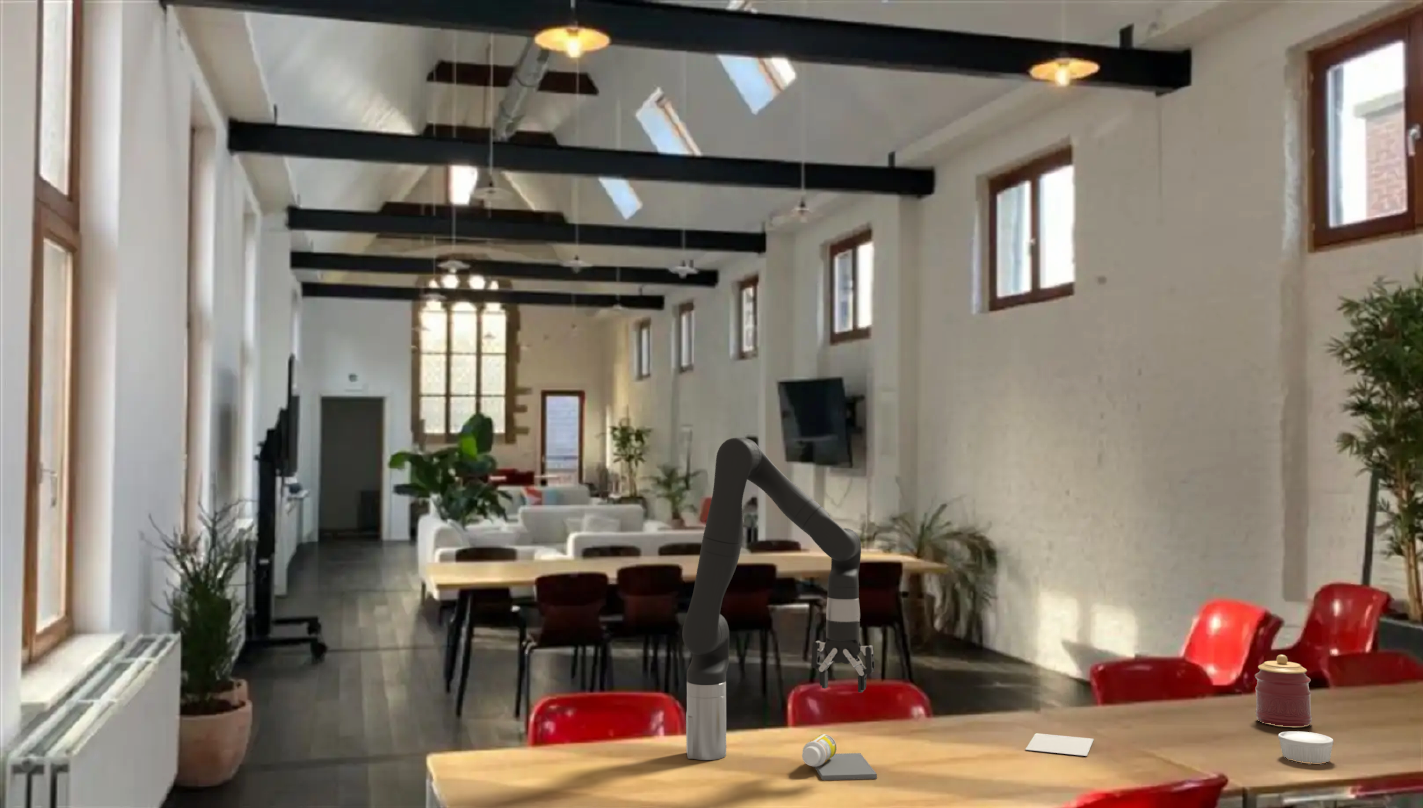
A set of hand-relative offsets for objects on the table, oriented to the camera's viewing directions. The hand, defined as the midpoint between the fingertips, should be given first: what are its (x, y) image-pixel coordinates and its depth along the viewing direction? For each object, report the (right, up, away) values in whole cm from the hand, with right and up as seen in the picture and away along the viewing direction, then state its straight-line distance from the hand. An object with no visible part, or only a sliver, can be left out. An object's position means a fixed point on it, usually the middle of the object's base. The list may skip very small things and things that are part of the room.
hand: (842, 689), depth 251 cm
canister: (+119, -19, +39) cm, 127 cm away
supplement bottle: (-3, -14, +4) cm, 15 cm away
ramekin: (+107, -17, +4) cm, 109 cm away
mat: (0, -17, -1) cm, 17 cm away
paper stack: (+57, -18, +12) cm, 61 cm away
